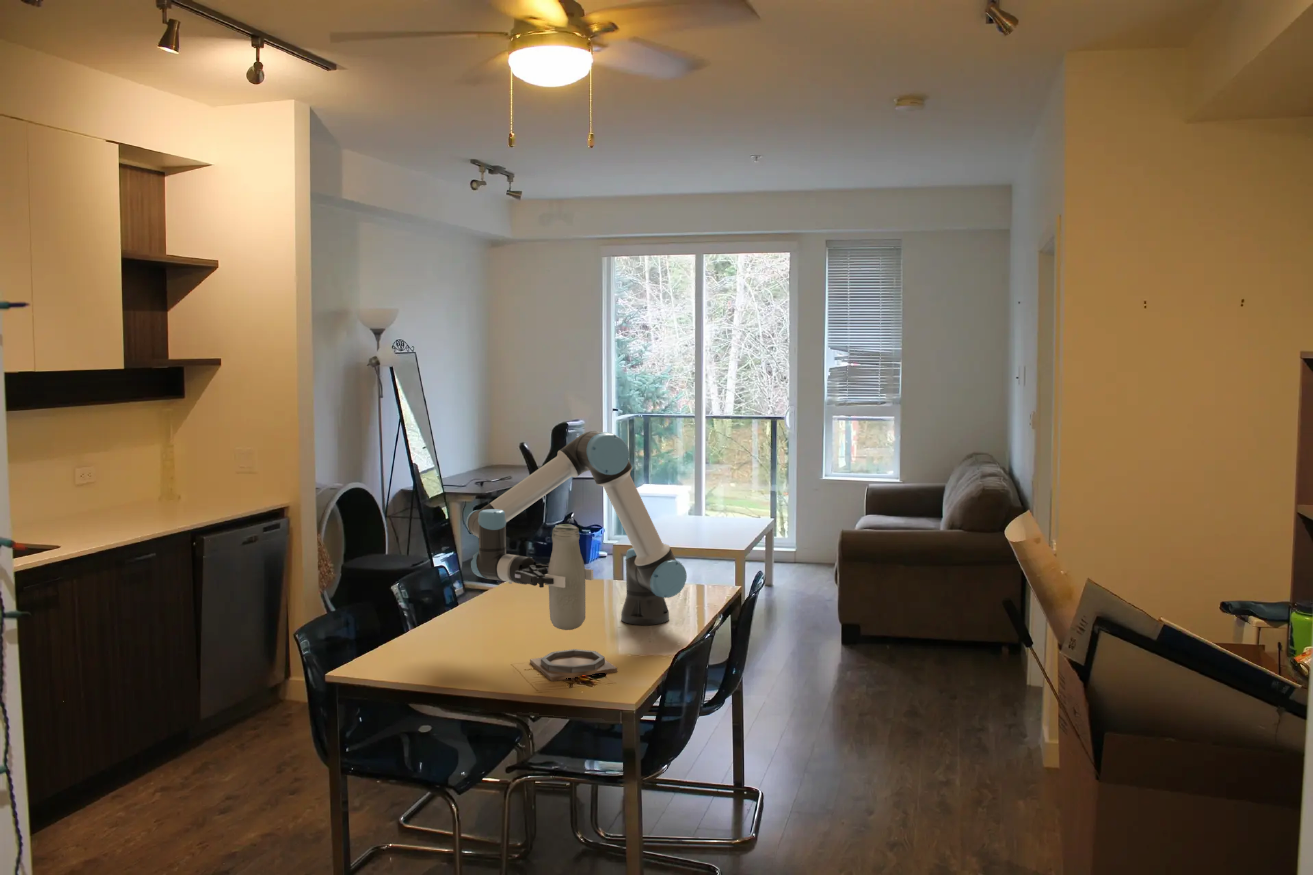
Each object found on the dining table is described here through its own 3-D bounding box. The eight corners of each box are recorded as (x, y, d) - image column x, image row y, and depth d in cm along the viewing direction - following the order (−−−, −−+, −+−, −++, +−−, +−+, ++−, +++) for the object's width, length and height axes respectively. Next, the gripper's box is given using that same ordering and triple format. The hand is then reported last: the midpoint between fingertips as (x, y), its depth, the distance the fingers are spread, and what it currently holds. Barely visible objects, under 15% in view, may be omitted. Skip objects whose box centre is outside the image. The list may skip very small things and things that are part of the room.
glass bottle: (583, 623, 266) (582, 520, 265) (588, 632, 256) (586, 526, 255) (547, 625, 265) (545, 522, 263) (550, 634, 254) (548, 527, 253)
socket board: (592, 654, 272) (592, 645, 272) (617, 671, 256) (617, 662, 255) (530, 662, 264) (529, 653, 264) (551, 681, 248) (551, 671, 248)
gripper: (546, 575, 280) (606, 585, 267) (487, 590, 261) (548, 600, 248) (546, 549, 279) (606, 557, 266) (486, 562, 261) (548, 571, 248)
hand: (578, 578), depth 257 cm, fingers closed on glass bottle, 10 cm apart
